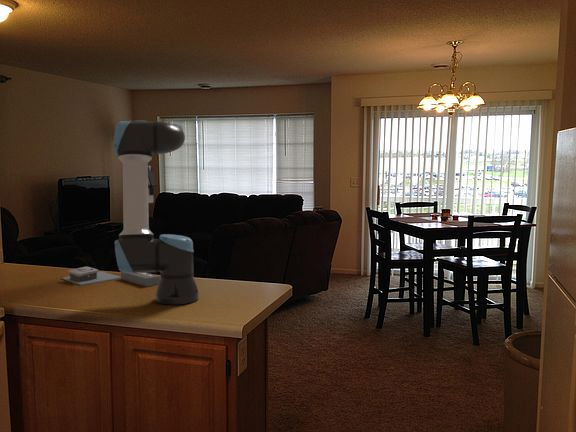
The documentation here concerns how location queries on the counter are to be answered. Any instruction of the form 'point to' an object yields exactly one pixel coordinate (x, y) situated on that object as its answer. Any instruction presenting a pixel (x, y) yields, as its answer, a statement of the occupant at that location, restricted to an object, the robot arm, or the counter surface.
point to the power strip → (141, 278)
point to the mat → (100, 278)
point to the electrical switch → (83, 274)
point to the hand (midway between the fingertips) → (142, 202)
